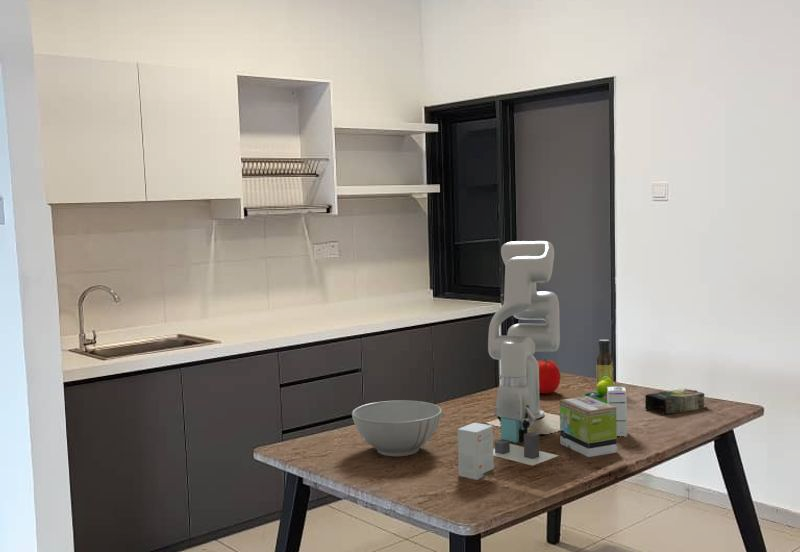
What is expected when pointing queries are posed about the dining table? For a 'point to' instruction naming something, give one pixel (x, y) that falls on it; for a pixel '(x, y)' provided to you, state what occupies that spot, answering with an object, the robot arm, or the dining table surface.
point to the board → (518, 453)
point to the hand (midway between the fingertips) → (514, 438)
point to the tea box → (588, 426)
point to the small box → (475, 450)
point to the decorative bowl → (397, 425)
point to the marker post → (531, 445)
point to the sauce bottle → (604, 362)
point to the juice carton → (675, 400)
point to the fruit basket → (601, 390)
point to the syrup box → (619, 408)
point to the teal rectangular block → (510, 429)
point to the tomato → (548, 376)
